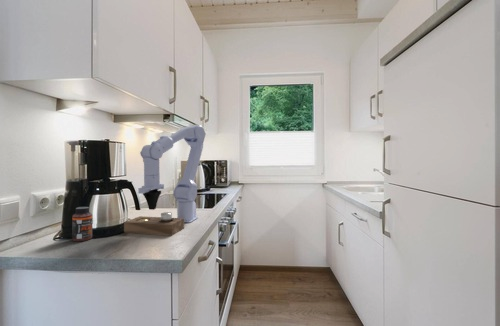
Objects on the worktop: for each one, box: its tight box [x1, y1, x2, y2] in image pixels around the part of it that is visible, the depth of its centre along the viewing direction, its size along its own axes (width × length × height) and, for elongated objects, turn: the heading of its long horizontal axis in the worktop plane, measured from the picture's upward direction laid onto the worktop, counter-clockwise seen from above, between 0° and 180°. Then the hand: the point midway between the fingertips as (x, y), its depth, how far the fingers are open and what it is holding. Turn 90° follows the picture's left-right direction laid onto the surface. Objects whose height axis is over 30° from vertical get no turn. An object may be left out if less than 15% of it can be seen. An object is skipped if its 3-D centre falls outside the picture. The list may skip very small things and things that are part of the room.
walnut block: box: [123, 215, 185, 236], centre depth 103 cm, size 10×20×4 cm, turn 79°
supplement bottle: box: [71, 206, 93, 242], centre depth 91 cm, size 6×6×11 cm
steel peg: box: [160, 211, 173, 223], centre depth 102 cm, size 4×4×4 cm
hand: (152, 209), depth 103 cm, fingers closed
